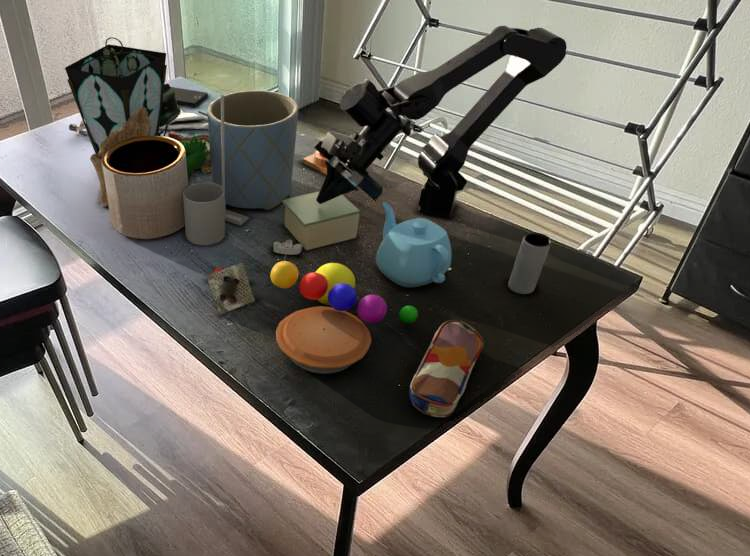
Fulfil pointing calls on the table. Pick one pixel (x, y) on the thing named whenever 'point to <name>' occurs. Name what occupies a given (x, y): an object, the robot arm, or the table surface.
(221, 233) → the cup
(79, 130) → the person figure
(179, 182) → the planter
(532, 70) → the robot arm
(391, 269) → the teapot
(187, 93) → the cell phone
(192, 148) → the toy
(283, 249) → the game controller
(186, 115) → the cloth
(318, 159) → the button housing
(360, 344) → the pie
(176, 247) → the table surface
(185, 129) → the feather
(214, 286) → the tan textured box
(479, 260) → the table surface
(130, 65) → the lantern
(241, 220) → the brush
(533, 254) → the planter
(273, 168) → the planter
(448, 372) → the pencil case
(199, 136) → the decorative book
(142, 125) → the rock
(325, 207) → the lid
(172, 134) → the denture
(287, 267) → the spheres
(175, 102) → the headphones
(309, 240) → the cream storage box
